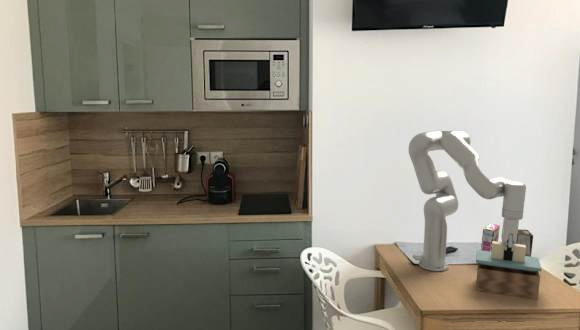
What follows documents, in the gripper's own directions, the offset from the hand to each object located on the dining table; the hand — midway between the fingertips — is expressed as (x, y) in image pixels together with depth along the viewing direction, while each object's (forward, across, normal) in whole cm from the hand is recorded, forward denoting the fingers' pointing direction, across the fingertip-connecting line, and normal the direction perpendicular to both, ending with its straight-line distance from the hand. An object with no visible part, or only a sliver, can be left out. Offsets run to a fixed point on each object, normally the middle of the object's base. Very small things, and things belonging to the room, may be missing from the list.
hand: (507, 258), depth 198 cm
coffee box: (+13, -28, +8) cm, 32 cm away
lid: (+2, 0, 0) cm, 2 cm away
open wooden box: (+13, 0, +1) cm, 13 cm away
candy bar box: (+14, -30, -5) cm, 34 cm away
